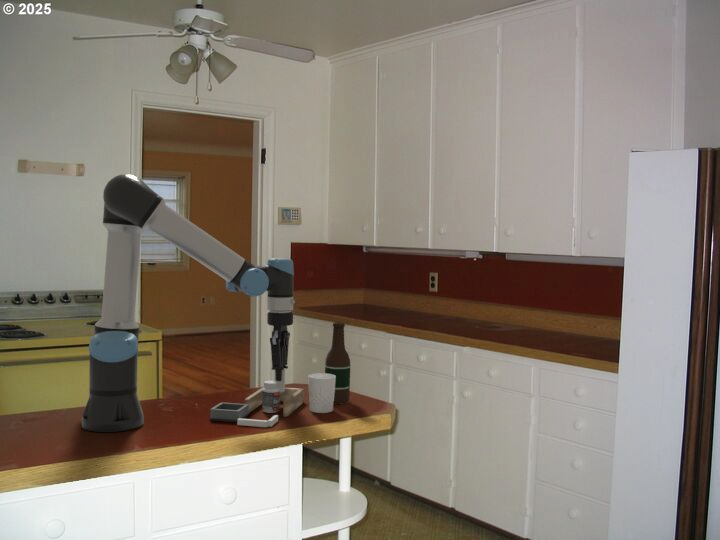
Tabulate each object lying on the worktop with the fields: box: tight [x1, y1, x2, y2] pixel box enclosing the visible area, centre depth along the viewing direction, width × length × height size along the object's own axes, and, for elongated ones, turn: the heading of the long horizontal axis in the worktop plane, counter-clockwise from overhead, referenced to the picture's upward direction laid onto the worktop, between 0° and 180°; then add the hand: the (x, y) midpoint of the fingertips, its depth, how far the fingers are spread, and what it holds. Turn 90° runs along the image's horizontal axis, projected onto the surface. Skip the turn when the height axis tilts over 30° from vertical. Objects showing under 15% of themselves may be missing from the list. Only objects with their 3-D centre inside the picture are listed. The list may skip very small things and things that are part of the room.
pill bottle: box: [261, 380, 280, 414], centre depth 206 cm, size 5×5×8 cm
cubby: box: [244, 386, 305, 417], centre depth 210 cm, size 12×18×4 cm
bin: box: [209, 402, 250, 423], centre depth 198 cm, size 8×8×3 cm
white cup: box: [307, 372, 336, 414], centre depth 208 cm, size 8×8×10 cm
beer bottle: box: [324, 321, 351, 405], centre depth 220 cm, size 8×8×24 cm
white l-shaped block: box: [236, 414, 279, 428], centre depth 193 cm, size 9×7×2 cm
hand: (279, 391), depth 213 cm, fingers closed
